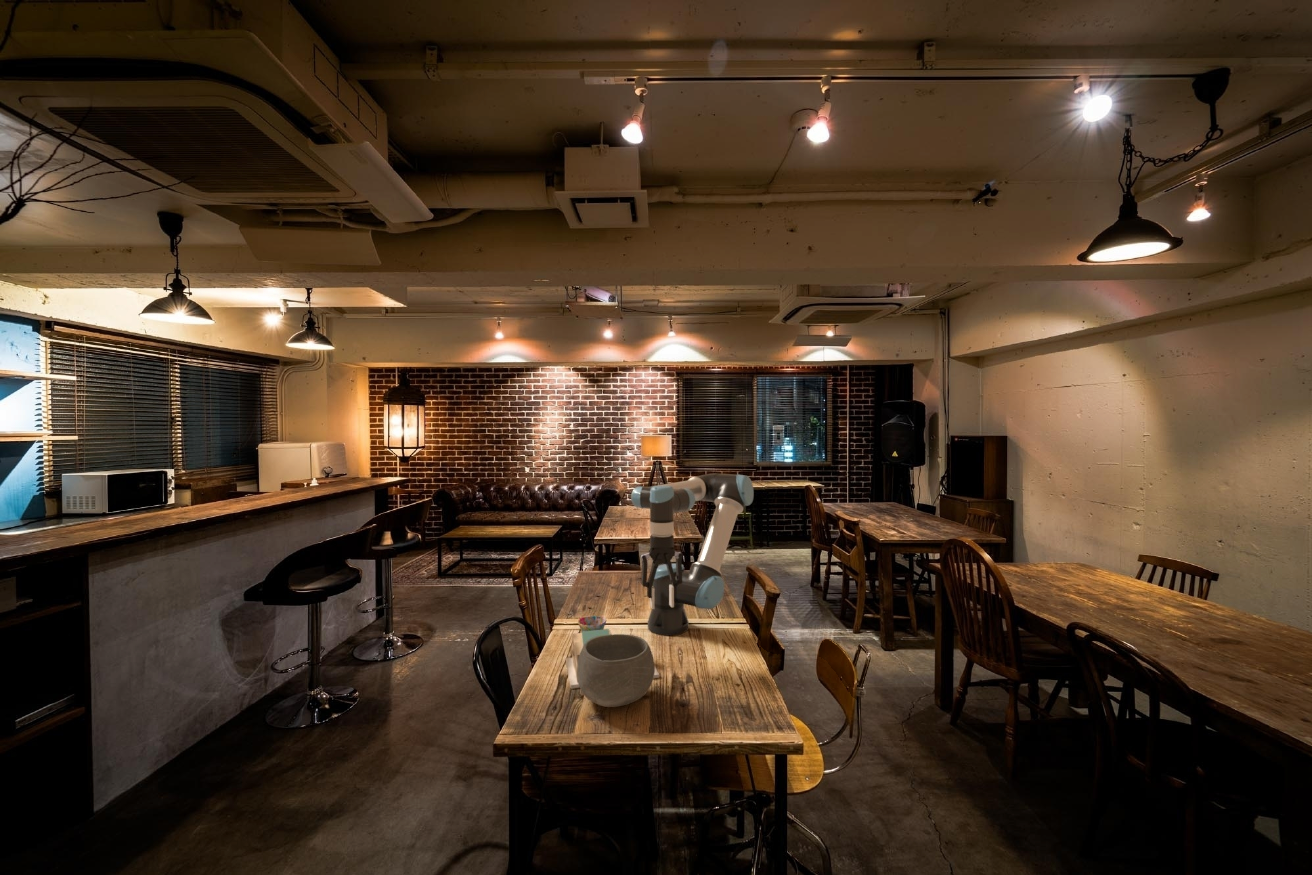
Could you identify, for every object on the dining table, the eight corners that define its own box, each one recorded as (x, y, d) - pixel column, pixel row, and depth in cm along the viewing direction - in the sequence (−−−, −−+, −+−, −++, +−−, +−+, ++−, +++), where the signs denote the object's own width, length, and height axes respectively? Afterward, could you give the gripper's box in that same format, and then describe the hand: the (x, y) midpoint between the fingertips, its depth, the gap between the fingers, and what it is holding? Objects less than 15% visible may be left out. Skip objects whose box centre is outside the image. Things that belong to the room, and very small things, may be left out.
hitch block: (645, 652, 171) (645, 625, 171) (659, 677, 154) (659, 647, 154) (565, 661, 165) (565, 633, 165) (570, 688, 147) (570, 657, 147)
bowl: (662, 685, 149) (662, 633, 149) (644, 726, 128) (643, 666, 128) (592, 678, 154) (592, 627, 153) (564, 716, 133) (564, 658, 133)
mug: (602, 659, 166) (602, 626, 166) (574, 657, 167) (574, 624, 167) (611, 644, 178) (611, 613, 177) (585, 642, 179) (585, 612, 179)
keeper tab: (609, 630, 157) (609, 628, 157) (612, 649, 152) (612, 647, 152) (581, 633, 155) (581, 631, 155) (583, 652, 150) (583, 650, 150)
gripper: (686, 530, 172) (686, 600, 172) (630, 533, 167) (630, 605, 167) (693, 535, 164) (693, 608, 165) (635, 538, 160) (635, 613, 160)
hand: (661, 606), depth 166 cm, fingers open, 6 cm apart
